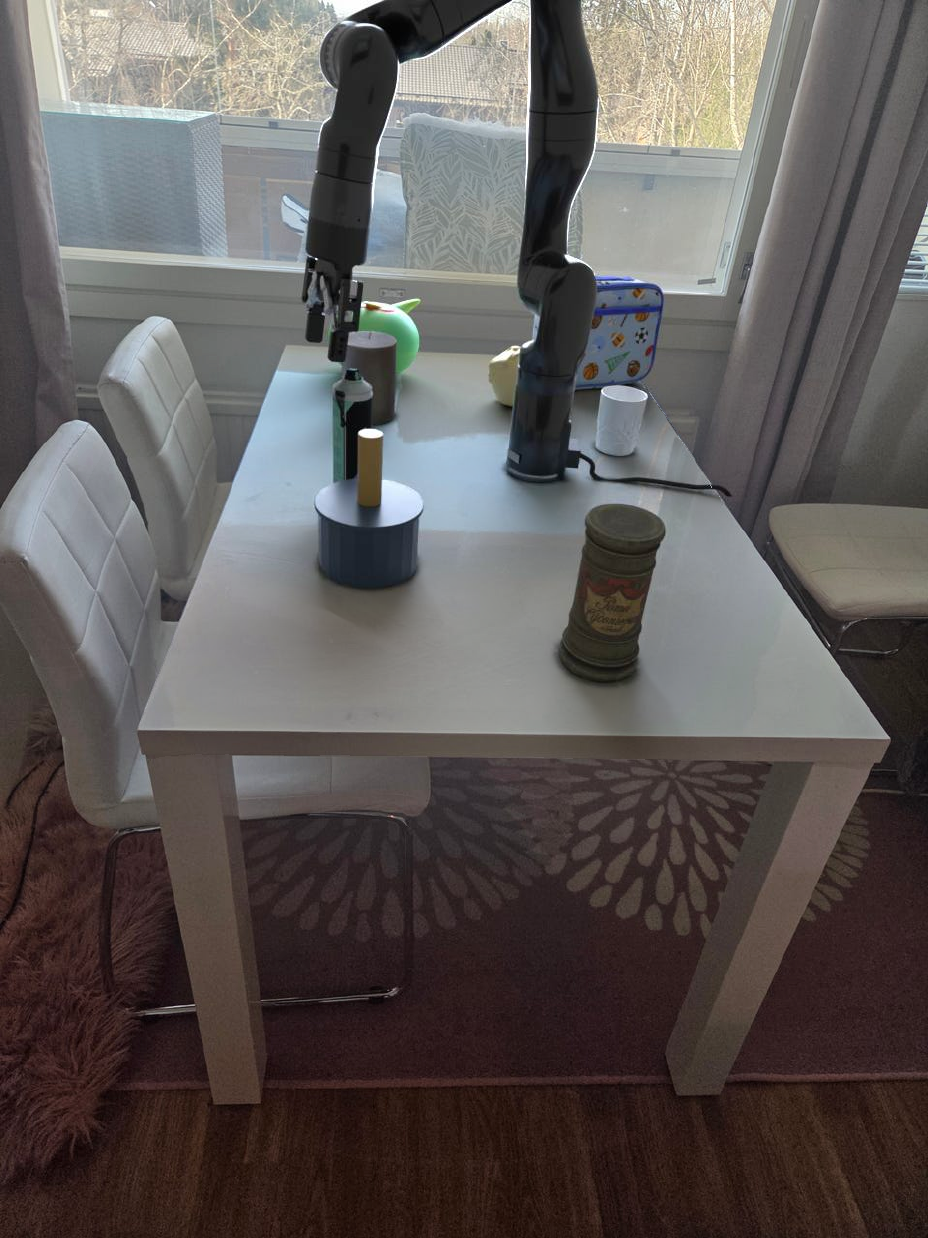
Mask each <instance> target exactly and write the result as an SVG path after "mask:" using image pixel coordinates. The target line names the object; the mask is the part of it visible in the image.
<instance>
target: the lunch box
mask: <svg viewBox="0 0 928 1238" xmlns="http://www.w3.org/2000/svg"><path fill="white" fill-rule="evenodd" d="M595 277H596V281H597V299H596V305H595V311H594V316H593V320H592V325H591V330H590V335H589V340H588V344H587V348H586V350H585V352H584V354H583V356H582V358H581V360H580V362H579V367H578V373H577V379H576V386H575V391H576V390H577V391H578V390H587V389H588V390H589V389H603V388H604V387H607V386H615V385H618V386H622V385H626V384H632V383H636V382H640V381H642V380H644V379H645V378H646V377H647V376H648V375H649V374H650V372H651V371H652V368H653V367H654V363H655V359H656V352H657V345H658V340H659V333H660V327H661V322H662V318H663V317H662V316H663V311H664V303H665V296H664V293H663V290H662V288H661V287H660V286H659V285H657V284H655V283H651V282H644V281H642V280H640V279H637V278H633V277H631V276H617V275H607V276H606V275H605V276H596V275H595ZM539 320H540V317H538V316H536V315H534V320H533V329H532V337H531V338H532V339H531V341H532V340H535V339H536V336H537V331H538V326H539Z"/></svg>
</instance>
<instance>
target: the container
mask: <svg viewBox="0 0 928 1238" xmlns="http://www.w3.org/2000/svg"><path fill="white" fill-rule="evenodd" d="M584 527H585V529H584V535H585V541H584V545H582V548H581V558H580V563H579V569H578V573H577V580H576V585H575V591H574V596H573V601H572V604H571V608H570V610H569V612H568V621H567V626H566V627H565V628H564V629H563V630H562V634H561V640H560V642H559V644H558V655H559V658H560V659H559V660H561V662H562V664H563V665H564V666H565V667H566V668H567V669H568V670H569V671H570V672H572V673H573V674H575V675H577V676H579V677H581V678H583V679H586V680H589V681H593V682H600V683H615V682H620V681H622V680H625V679H627V678H628V677H630V676H631V675H632V674H633V673H634V672H635V670H636V668H637V667H638V664H639V663H638V662H639V654H640V645H639V638H640V635H641V632H642V631H643V630H642V629H643V623H642V621H643V616H644V612H645V609H646V604H647V600H648V595H649V591H650V587H651V582H652V578H653V574H654V570H655V568H656V566H657V559H656V558H657V552H658V551H659V549H660V547H661V544H662V542H663V540H665V537H666V533H667V529H666V525H665V522H664V521H663V520H662V518H661V517H659V516H658V515H657V514H656V513H654V512H652V511H650V510H648V509H646V508H642V507H639V506H636V505H633V504H628V503H603V504H599V505H596V506H594V507H592V508H591V509H590V510H589V511H588V512H587V514H586V516H585V518H584Z"/></svg>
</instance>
